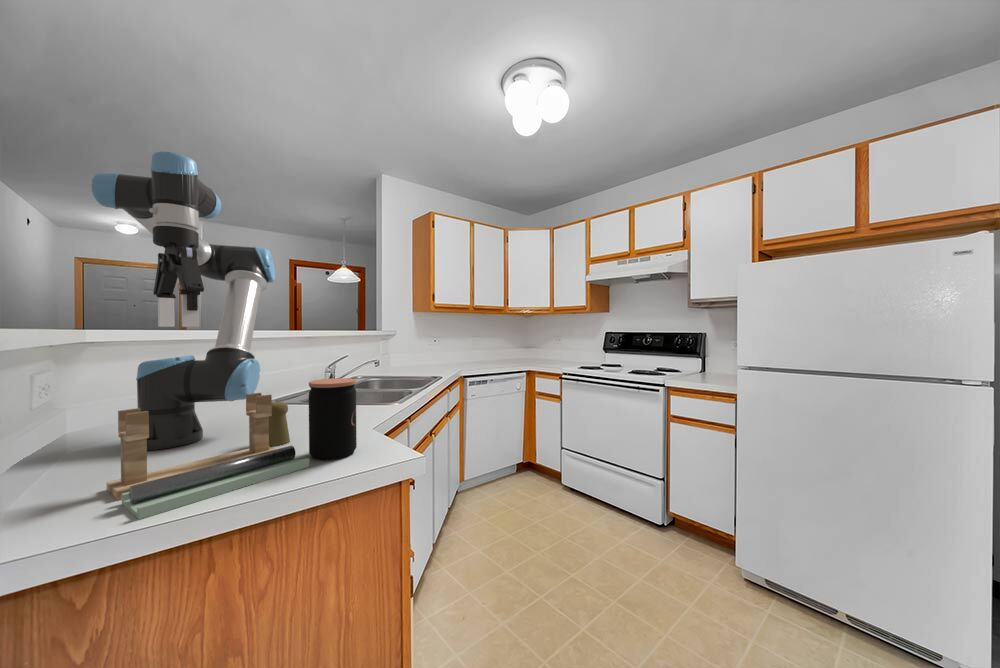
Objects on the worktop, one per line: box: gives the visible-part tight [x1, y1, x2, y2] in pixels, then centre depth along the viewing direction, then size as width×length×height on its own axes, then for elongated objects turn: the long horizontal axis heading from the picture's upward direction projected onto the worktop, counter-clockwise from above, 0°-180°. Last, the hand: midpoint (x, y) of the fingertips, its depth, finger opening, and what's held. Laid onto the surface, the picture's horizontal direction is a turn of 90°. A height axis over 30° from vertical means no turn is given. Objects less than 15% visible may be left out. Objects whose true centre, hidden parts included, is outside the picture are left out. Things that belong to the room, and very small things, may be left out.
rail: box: [129, 445, 296, 504], centre depth 75 cm, size 27×3×3 cm
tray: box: [121, 457, 310, 521], centre depth 75 cm, size 10×28×2 cm, turn 146°
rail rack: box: [106, 392, 277, 501], centre depth 81 cm, size 8×28×15 cm, turn 146°
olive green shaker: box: [269, 401, 291, 447], centre depth 101 cm, size 6×6×11 cm
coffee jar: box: [308, 377, 358, 461], centre depth 92 cm, size 11×11×18 cm
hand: (178, 326), depth 82 cm, fingers open, 13 cm apart
